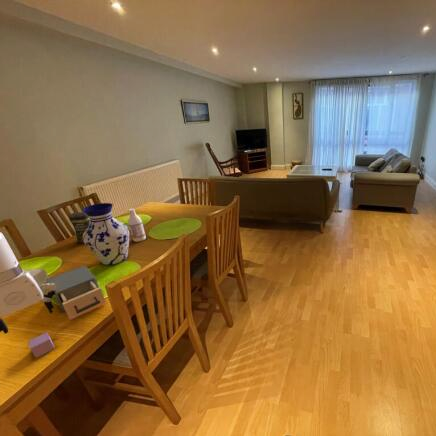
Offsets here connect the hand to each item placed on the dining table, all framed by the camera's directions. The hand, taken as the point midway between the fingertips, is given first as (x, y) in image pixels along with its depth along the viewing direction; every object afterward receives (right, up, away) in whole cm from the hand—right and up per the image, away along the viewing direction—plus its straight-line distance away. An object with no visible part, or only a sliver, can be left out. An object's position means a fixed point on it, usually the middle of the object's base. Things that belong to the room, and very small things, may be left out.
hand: (29, 320), depth 73 cm
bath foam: (-15, +18, +76) cm, 80 cm away
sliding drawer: (-1, -4, +22) cm, 22 cm away
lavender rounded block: (0, -12, +5) cm, 13 cm away
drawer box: (-11, -2, +29) cm, 30 cm away
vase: (-14, +9, +55) cm, 57 cm away
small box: (-28, -2, +29) cm, 40 cm away
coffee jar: (-46, +17, +75) cm, 90 cm away
